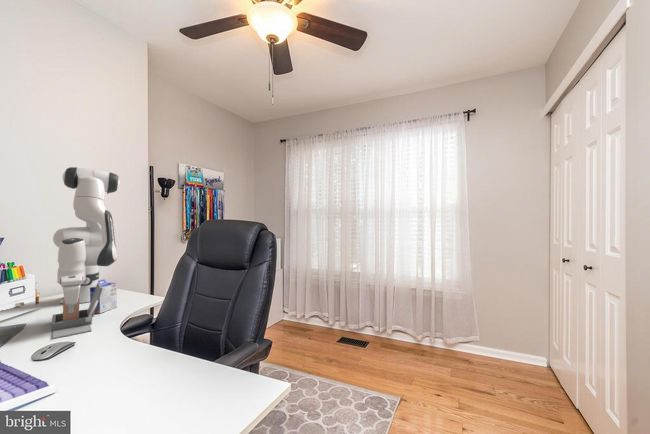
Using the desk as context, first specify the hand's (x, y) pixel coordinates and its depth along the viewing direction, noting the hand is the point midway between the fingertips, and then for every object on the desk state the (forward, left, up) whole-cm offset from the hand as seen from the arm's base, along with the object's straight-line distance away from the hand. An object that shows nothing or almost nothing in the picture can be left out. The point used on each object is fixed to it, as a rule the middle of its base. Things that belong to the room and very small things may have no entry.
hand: (71, 310), depth 119 cm
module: (0, 0, -5) cm, 5 cm away
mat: (+12, 0, -5) cm, 13 cm away
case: (+1, +2, -5) cm, 6 cm away
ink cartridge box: (-12, +12, -6) cm, 18 cm away
